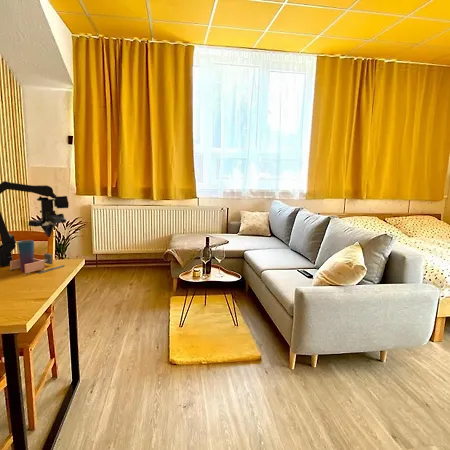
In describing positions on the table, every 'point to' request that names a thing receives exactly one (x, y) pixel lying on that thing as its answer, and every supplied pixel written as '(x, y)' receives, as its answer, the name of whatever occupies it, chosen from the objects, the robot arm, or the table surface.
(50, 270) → the rails
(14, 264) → the caddy
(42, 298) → the table surface
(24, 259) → the cup
